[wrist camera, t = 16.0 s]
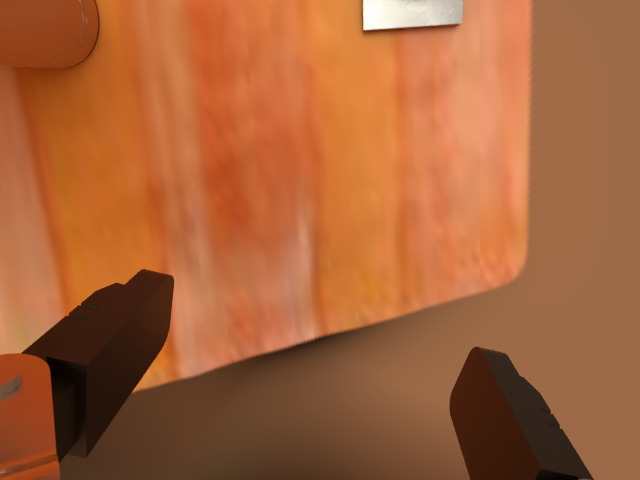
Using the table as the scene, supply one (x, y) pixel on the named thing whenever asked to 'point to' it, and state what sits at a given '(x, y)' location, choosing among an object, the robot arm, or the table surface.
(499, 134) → the table surface
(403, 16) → the stake stand
